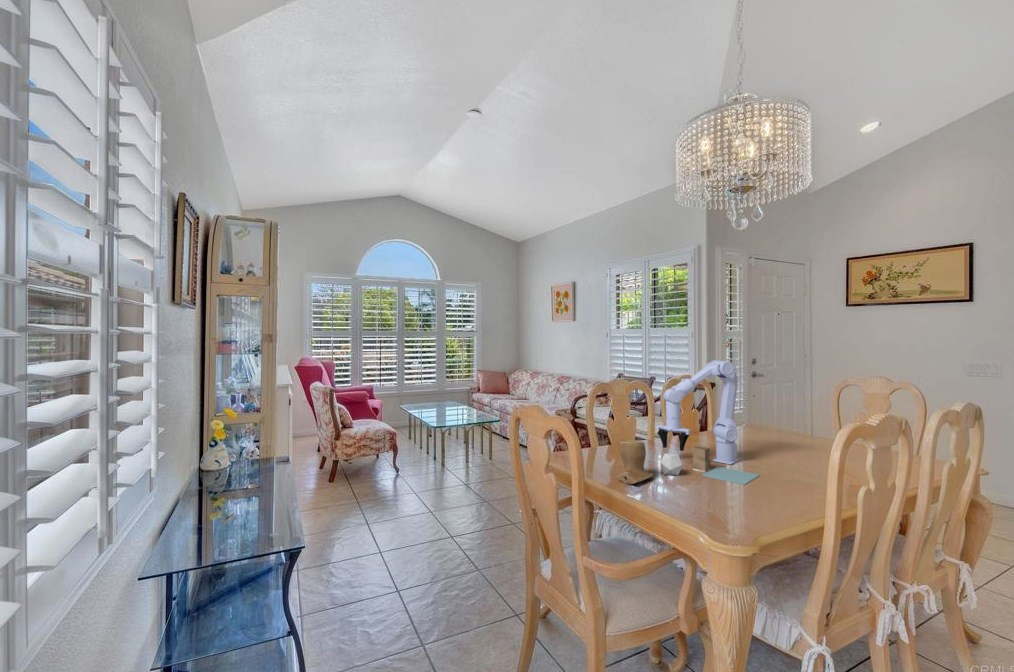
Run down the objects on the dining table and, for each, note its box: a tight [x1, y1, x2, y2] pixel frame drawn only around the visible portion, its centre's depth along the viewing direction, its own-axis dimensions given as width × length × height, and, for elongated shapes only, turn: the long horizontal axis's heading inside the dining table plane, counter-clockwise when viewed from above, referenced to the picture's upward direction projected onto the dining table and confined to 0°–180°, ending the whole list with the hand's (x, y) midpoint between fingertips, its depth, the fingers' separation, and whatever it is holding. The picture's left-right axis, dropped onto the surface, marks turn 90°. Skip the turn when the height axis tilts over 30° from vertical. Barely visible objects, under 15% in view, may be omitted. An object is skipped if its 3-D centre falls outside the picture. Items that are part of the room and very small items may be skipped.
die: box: [659, 452, 683, 476], centre depth 187 cm, size 8×9×10 cm
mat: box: [701, 466, 760, 486], centre depth 184 cm, size 16×16×1 cm
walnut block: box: [692, 445, 711, 473], centre depth 192 cm, size 5×5×9 cm
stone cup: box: [616, 440, 654, 485], centre depth 180 cm, size 15×12×15 cm
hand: (673, 448), depth 201 cm, fingers open, 7 cm apart
